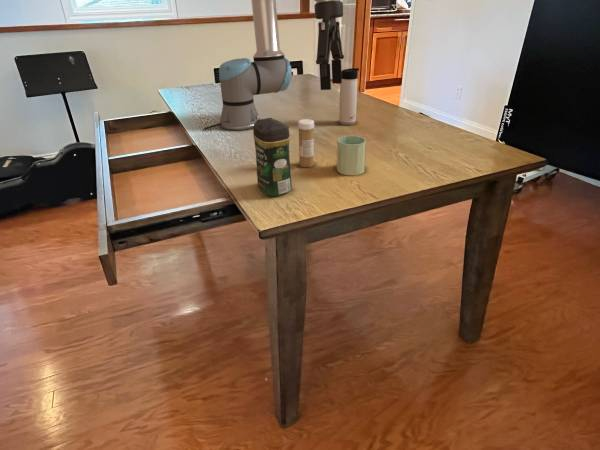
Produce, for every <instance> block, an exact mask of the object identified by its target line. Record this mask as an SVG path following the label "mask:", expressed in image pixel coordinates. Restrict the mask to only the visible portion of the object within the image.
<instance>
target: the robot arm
mask: <svg viewBox="0 0 600 450" xmlns="http://www.w3.org/2000/svg"><path fill="white" fill-rule="evenodd" d="M313 1H314V2H316V3H314V18H315V19H316V20H321V21H319V22H318V25H317V26H318V36H317V37H318V38H317V48H316V50H317V51H316V60H315V65H318V66H319V83H320V84H319V85H320V91H331V90H332V84H340V83H342V60H344V59H345V55H344V52H343V46H342V38H341V29H340V28H341V27H340V21H337V19H338V18H342V17H343V16H344V2H343V1H341V0H313ZM251 9H252V19H253V26H254V27H253V28H254V29H253V30H254V37H255V47H256V52H255V53H254V55H252V58H253V61H251V59H249V58H247V57H242V58H235V59H230V60H227V61H225V62H222V63H221V64H220V65H219V67H218V73H219V74H218V75H219V77H218V78H219V79H218V80H219V85H220V93H221V101H222V109H221V114H220V119H219V123H216V124H212V125H209V126H206V127H203V129H204V130H209V129H212V128H214V127H215V128H216V127H218V126H219V127H221V128H222V129H224V130H228V131H246V130H251V129H253V126H254V124H255V123H256V122H257V120H260V119H261V118H260V114H259V113H258V110H257V108H256V105H255V101H254V96H258V95H265V94H273V93H274V94H276V93H279V92H285V91H287V89H288V88H289V86H290V85H291V81H292V66H291V62H290V60H289V59H288V58H285V53H284V52H283V51H282V50H281V46H280V36H279V35H280V34H279V23H278V12H277V11H278V10H277V0H251ZM330 56H331V57H330ZM330 58H332V59H331V63H330Z"/></svg>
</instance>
